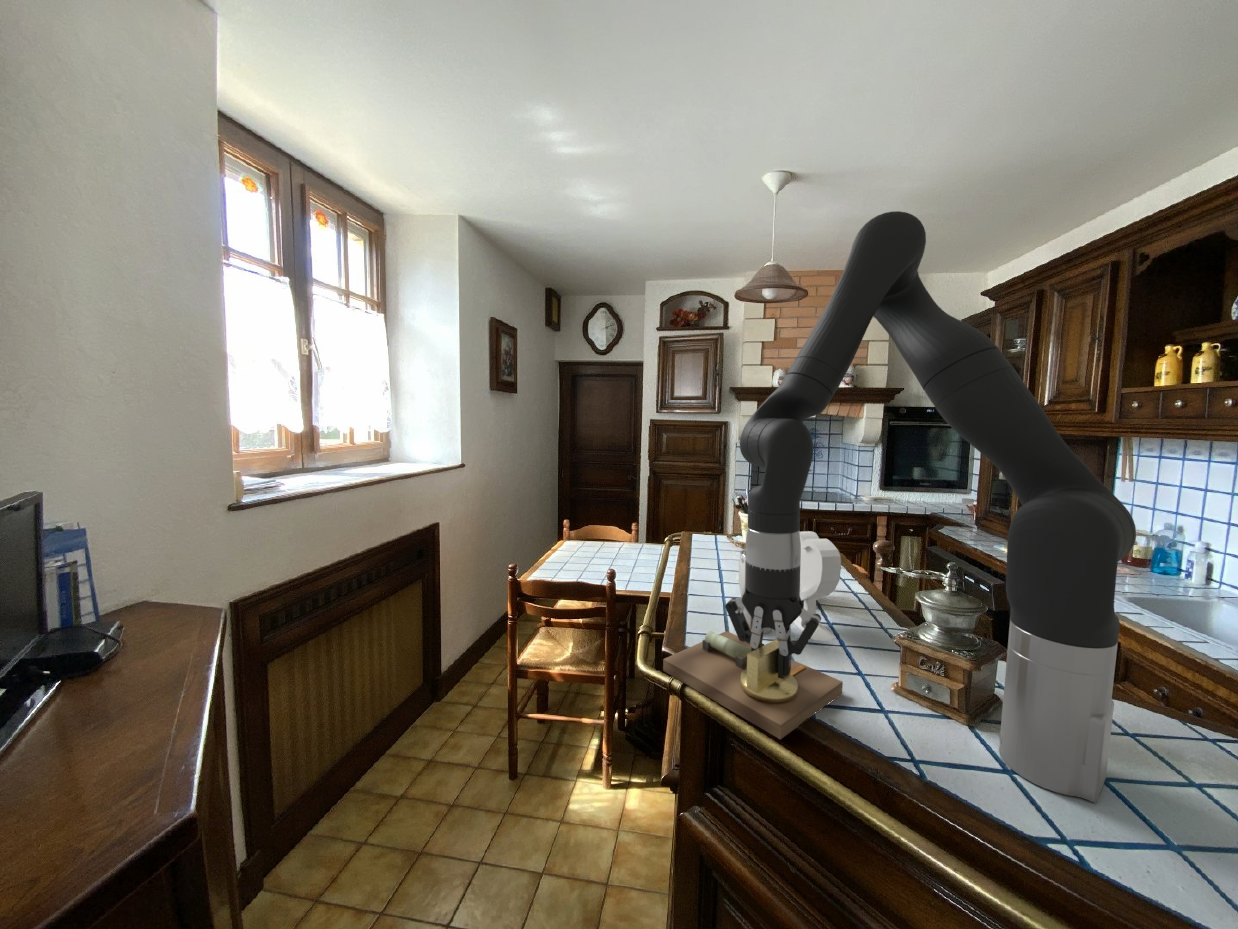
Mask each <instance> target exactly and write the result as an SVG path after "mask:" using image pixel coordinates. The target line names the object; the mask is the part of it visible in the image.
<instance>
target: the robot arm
mask: <svg viewBox="0 0 1238 929" xmlns="http://www.w3.org/2000/svg"><path fill="white" fill-rule="evenodd" d="M926 234H927V232H926V229H925V226H924V225H923V222H921V220H920V219H919V218H918V217H916V216H915V215H913V214H911V213H910V212H909V213H908V212H907V211H906V212H905V211H899V210H898V211H894V210H893V211H888V212H884V213H881V214H878V215H876V216H875V217H873V218H871V219H870V220H869V221H867V222H866V223H865V224H864V225H863V226H862V227H861V228H860V229H859V231H858V232H857V234H856V236H855V238H854V240H853V243H852V246H851V249H850V252H849V255H848V258H847V260H846V263H845V266H844V269H843V271H842V273H841V275H840V277H839V280H838V282H837V284H836V286H835V288H834V290H833V293H832V294H831V296H830V298H829V300H828V303H827V304H826V306H825V308H824V310H823V312H822V313H821V315H820V317H819V319H818V321H816V324H815V326H814V327H813V328H812V330H811V332H810V334H809V335H808V337H807V339H806V340H805V342H804V344H803V346H802V347H801V349H800V350H799V352H798V353H797V355H796V357H795V358H794V360H793V361H792V364H791V365H790V367H789V369H788V371H786V373H785V376H784V377H783V379H782V381H781V382H780V384H779V386H778V387H776V389H774V391H773V392H772V393H771V394H770V395H769V396H768V397H767V398H766V399H765V400H764V401H763V402H762V404H761V405H760V406H759V407H758V408H757V409H756V410H755V411H754V413H753V414H752V415H751V416H750V418H749V419H748V421H747V422H746V424H745V425H744V427H743V429H742V431H741V435H740V440H739V449H740V450H739V451H740V453H741V455H742V457H743V458H744V460H745V461H746V462H747V463H749V464H751V465H753V466H756V467H759V468H765V470H764V476H763V480H762V484H761V485H757V486H754V487H752V489H750V491H749V494H748V496H747V530H746V531H747V532H746V537H745V548H744V549H745V592H744V594H743V596H742V598H741V597H737V598H736V597H732V598H731V599H729V600H728V601H727V603H726V604H725V606H724V607H725V610H726V612H727V615H728V617H729V619H730V622H731V623H732V627H733V629H734V631H735V633H736V635H737V636H738V638H739V640H740V641H742V642H744V641H745V642H747V643H749V644H750V646H751V652H752V651H754V650H756V649H758V648H760V647H762V646H764V645H765V644H764V643H763V640H764V635H765V634H764V630H765V628H771V629H772V630H774V631H775V636H776V639H777V640H778V644H779V651H780V653H779V654H778V678H780V679H784V677H785V676H787V675H788V673H789V672H790V670H791V659H792V655H793V654H794V655H797V656H799V655H801V654H802V653H803V651H804V649H805V648H806V646H807V645H808V643H809V641H810V640H811V639H810V638H811V637H812V635H813V633H814V632H815V630H816V629H817V627H818V625H819V623H821V621H822V616H821V615H820V614H819V613H816V614H811V613H810V612H808V611H807V610H805V609H804V603H803V602H802V601H801V598H800V566H801V541H800V532H801V531H800V528H801V527H800V524H801V523H800V521H801V519H800V518H801V500H802V499H801V498H802V497H803V496H802V495H803V492H804V490H805V487H806V484H807V480H808V476H809V472H810V470H811V466H812V462H813V457H814V443H813V438H812V434H811V432H810V430H809V429H808V427H807V426H806V425H805V424H804V423H803V421H805V420H807V419H809V418H812V417H815V416H818V415H820V414H821V413H822V412H823V411H825V409H826V408H827V407H828V405H829V404H830V402H831V400H832V398H833V397H834V395H835V394H836V392H837V391H838V389H839V387H840V385H841V383H842V382H843V380H844V379H845V376H846V375H847V373H848V370H849V369H850V367H851V364H852V363H853V361H854V358H855V357H856V354H857V352H858V350H859V348H860V345H861V343H862V341H863V339H864V337H865V334H866V332H867V330H868V327H869V325H870V323H871V322H872V319H873V317H874V319H876V321H877V322H878V323H879V324H880V325H881V326H882V328H883V329H884V330H885V331H886V333H887V334H888V336H889V337H890V338H891V340H892V342H893V343H894V345H895V346H896V348H897V350H898V352H899V353H900V355H901V356H902V357H903V359H904V361H905V362H906V363H907V366H908V368H909V369H910V370H911V372H912V373H913V375H914V376H915V378H916V380H917V382H918V383H919V386H921V388H922V390H923V391H924V393H925V394H926V396H927V397H928V399H929V400H930V401H931V403H932V404H933V406H934V407H935V410H936V411H937V412H938V414H939V415H940V416H941V417H942V418H943V420H944V421H945V422H946V423H947V424H948V425H949V427H951V428H952V430H954V431H955V432H956V433H957V434H958V435H959V436H960V437H961V438H962V439H963V440H965V441H966V443H969V445H970V446H972V447H973V448H974V449H975V450H976V451H978V452H979V453H980V454H982V455H983V456H984V457H985V458H987V459H988V461H989V462H990V463H991V464H993V466H995V467H996V468H997V469H998V471H999V472H1000V473H1001V474H1002V476H1003V477H1004V479H1005V480H1006V481H1007V483H1008V484H1009V486H1010V487H1011V488H1012V491H1013V492H1014V494H1015V496H1016V497H1017V498H1018V500H1019V502H1020V504H1021V506H1020V507H1019V508H1018V509H1017V510H1016V512H1015V514H1014V515H1013V516H1012V519H1011V522H1010V524H1009V529H1008V535H1007V548H1006V549H1007V550H1006V571H1005V572H1006V573H1005V593H1006V597H1007V601H1008V603H1009V608H1010V610H1009V611H1010V613H1009V615H1010V616H1009V628H1008V642H1007V652H1006V665H1005V674H1004V675H1005V676H1004V687H1003V697H1002V698H1003V699H1002V708H1001V709H1002V711H1001V724H1000V733H999V745H998V746H999V747H998V752H999V755H1000V758H1001V759H1002V761H1003V762H1004V764H1006V766H1007V767H1008V768H1010V769H1011V770H1012V771H1013V772H1015V773H1016V774H1017V775H1019V776H1021V777H1022V778H1023V779H1025V780H1027V781H1028V782H1030V783H1032V784H1034V785H1037V786H1039V787H1041V788H1043V789H1046V790H1049V791H1052V792H1054V793H1057V794H1061V795H1065V796H1069V797H1070V796H1071V797H1078V798H1083V799H1085V800H1087V801H1090V802H1091V803H1095V804H1096V803H1098V801H1099V797H1100V795H1101V792H1102V790H1103V786H1104V785H1105V782H1106V778H1107V771H1108V762H1109V752H1110V746H1111V736H1112V734H1111V733H1112V728H1113V727H1112V726H1113V715H1114V707H1115V703H1114V700H1112V699H1113V697H1112V696H1113V689H1114V688H1113V687H1114V678H1115V673H1116V672H1115V670H1116V663H1117V661H1116V660H1117V653H1118V643H1119V637H1120V636H1119V634H1120V627H1121V625H1120V619H1119V617H1118V615H1117V614H1116V612H1115V596H1116V584H1117V572H1118V565H1119V562H1120V561H1121V560H1123V559H1124V558H1125V557H1127V555H1129V553H1130V552H1131V551H1132V549H1133V548H1134V546H1135V542H1136V538H1137V530H1136V529H1137V528H1136V524H1135V521H1134V518H1133V516H1132V515H1131V513H1130V511H1129V509H1128V508H1126V506H1125V505H1124V504H1123V503H1122V502H1121V500H1119V499H1118V498H1117V497H1116V495H1115V494H1114V493H1113V492H1112V491H1111V490H1110V489H1109V488H1108V487H1107V485H1105V484H1104V483H1103V482H1102V481H1101V480H1100V479H1099V478H1098V477H1097V476H1096V475H1095V474H1094V472H1092V471H1091V469H1090V468H1089V467H1088V466H1087V465H1085V463H1084V462H1083V461H1082V460H1081V459H1080V458H1079V457H1078V456H1077V455H1076V454H1075V452H1074V451H1073V450H1072V449H1071V448H1070V447H1069V446H1068V444H1067V443H1066V442H1065V441H1064V439H1063V438H1062V436H1061V435H1060V434H1059V432H1058V431H1057V429H1056V428H1055V426H1054V424H1053V423H1052V421H1051V420H1050V418H1049V417H1048V415H1047V413H1046V412H1045V411H1044V409H1043V407H1042V406H1041V405H1040V403H1039V402H1038V401H1037V399H1036V398H1035V396H1034V395H1033V393H1032V392H1031V390H1030V389H1029V388H1028V386H1027V385H1026V384H1025V382H1024V381H1023V379H1022V377H1021V376H1020V375H1019V374H1018V372H1017V371H1016V369H1015V368H1014V367H1013V365H1012V364H1011V363H1010V362H1009V360H1008V359H1007V358H1006V356H1005V355H1004V353H1003V352H1002V351H1001V350H1000V348H999V347H998V346H997V345H996V343H995V342H994V341H993V340H992V339H991V338H990V337H989V336H988V335H986V334H985V333H984V332H982V331H981V330H980V329H977V328H975V327H974V326H972V325H971V324H968V323H966V322H964V321H962V320H960V319H958V318H956V317H954V316H952V315H950V314H949V313H947V312H945V311H944V310H943V309H942V307H940V306H939V305H938V304H937V303H936V302H935V300H934V298H933V297H932V295H930V293H929V291H928V290H927V288H926V287H925V285H924V283H923V281H922V280H921V277H920V275H919V267H920V264H921V262H922V259H923V257H924V253H925V249H926V244H927V235H926ZM744 606H745V608H746V609H747V611H748V613H749V614H750V616H751V617H752V619H753V625H752V631H751V630H750V627H749V625H748V623H747V620H746V618H745V616H744V613H743V611H744ZM798 616H800V617H801V619H802V622H801V625H802V627H803V628H804V630H803V631H802V632H800V635H799V637H798V638H797V640H794V641H792V626H791V625H792V624H793V623H794V621H795V620H796V619H797V617H798Z"/></svg>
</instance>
